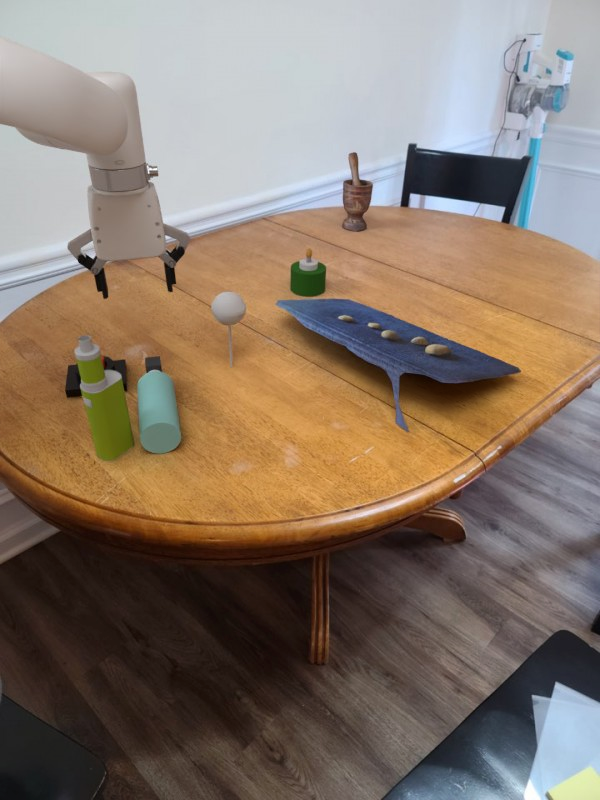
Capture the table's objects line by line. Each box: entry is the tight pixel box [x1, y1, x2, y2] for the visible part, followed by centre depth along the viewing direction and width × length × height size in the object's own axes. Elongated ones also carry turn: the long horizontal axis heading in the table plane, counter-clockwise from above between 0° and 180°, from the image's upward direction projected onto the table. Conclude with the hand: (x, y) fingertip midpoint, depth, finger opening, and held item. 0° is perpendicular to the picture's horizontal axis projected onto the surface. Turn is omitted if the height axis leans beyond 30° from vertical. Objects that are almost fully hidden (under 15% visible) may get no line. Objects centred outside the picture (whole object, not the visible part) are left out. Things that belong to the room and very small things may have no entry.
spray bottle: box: [136, 355, 182, 455], centre depth 92 cm, size 6×6×20 cm
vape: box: [73, 334, 135, 463], centre depth 80 cm, size 4×6×20 cm, turn 147°
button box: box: [64, 355, 128, 399], centre depth 100 cm, size 10×8×4 cm
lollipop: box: [210, 290, 247, 368], centre depth 101 cm, size 6×6×15 cm
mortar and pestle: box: [341, 151, 374, 233], centre depth 166 cm, size 12×9×20 cm
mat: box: [275, 297, 522, 434], centre depth 109 cm, size 45×27×12 cm, turn 42°
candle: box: [289, 248, 327, 298], centre depth 131 cm, size 8×8×10 cm
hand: (138, 291), depth 87 cm, fingers open, 9 cm apart
